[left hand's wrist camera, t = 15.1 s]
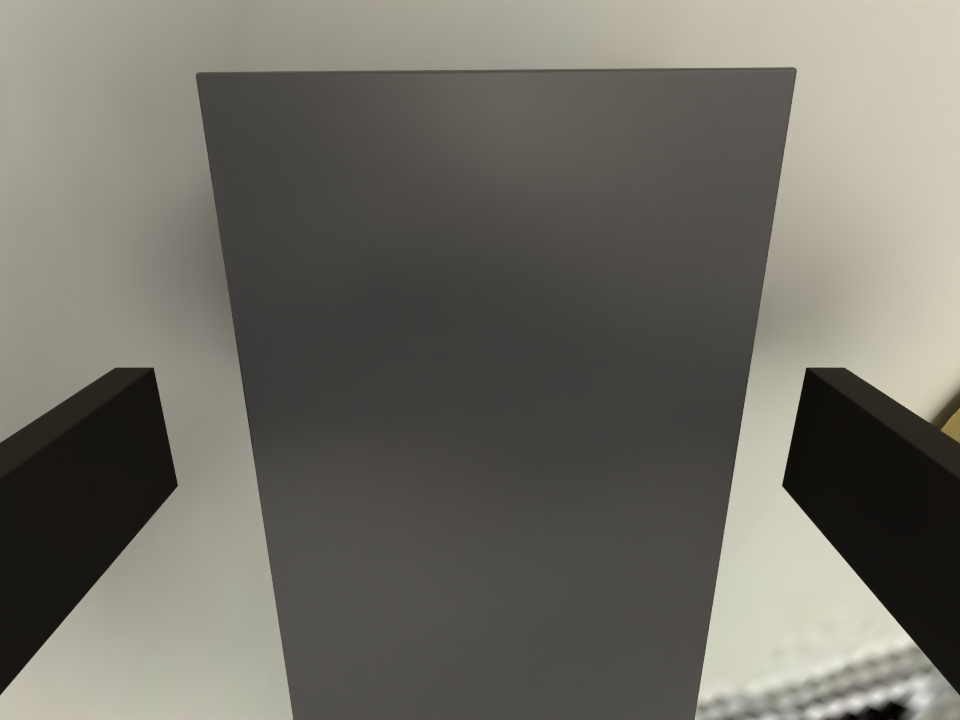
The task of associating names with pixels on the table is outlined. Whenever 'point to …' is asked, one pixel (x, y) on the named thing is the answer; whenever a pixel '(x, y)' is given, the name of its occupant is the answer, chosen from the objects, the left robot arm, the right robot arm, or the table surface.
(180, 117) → the table surface
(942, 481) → the left robot arm
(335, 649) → the long grey beam
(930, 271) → the table surface
